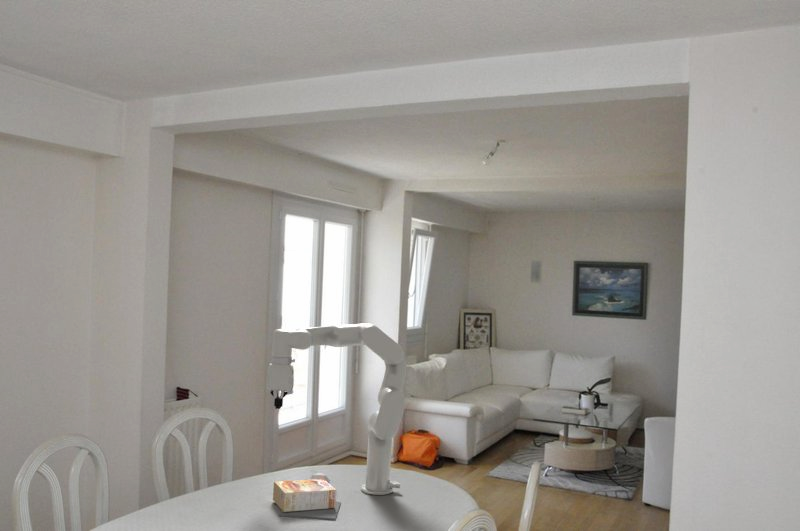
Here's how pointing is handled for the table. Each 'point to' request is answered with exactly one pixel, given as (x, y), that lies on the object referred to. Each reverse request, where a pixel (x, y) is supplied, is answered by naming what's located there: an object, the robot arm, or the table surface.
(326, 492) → the coffeecake box
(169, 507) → the table surface
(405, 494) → the table surface
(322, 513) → the mat
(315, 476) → the die
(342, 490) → the table surface
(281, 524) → the table surface
